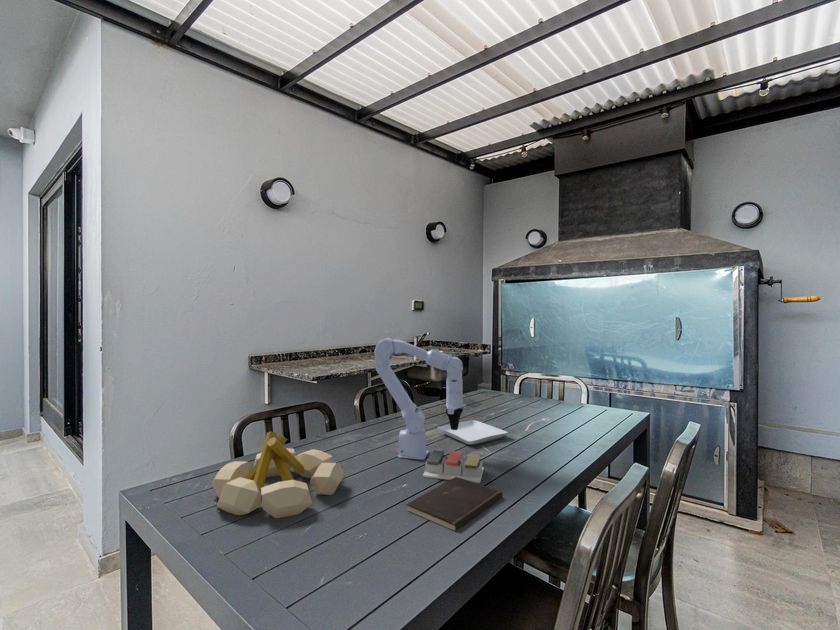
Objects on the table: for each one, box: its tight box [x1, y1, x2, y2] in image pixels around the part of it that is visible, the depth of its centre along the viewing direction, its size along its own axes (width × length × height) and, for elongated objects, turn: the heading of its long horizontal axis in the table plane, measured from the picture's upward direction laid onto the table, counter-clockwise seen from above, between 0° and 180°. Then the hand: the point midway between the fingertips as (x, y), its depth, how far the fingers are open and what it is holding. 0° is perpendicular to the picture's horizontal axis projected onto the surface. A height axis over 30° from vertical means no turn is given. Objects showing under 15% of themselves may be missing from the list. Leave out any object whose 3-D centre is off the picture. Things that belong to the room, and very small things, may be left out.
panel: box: [422, 457, 485, 484], centre depth 135 cm, size 18×11×3 cm, turn 76°
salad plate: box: [437, 419, 509, 446], centre depth 172 cm, size 21×21×3 cm
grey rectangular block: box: [426, 450, 445, 465], centre depth 136 cm, size 4×10×4 cm, turn 166°
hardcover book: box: [405, 477, 503, 533], centre depth 114 cm, size 16×23×2 cm
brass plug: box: [465, 453, 481, 469], centre depth 133 cm, size 4×10×4 cm, turn 165°
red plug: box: [446, 450, 463, 466], centre depth 135 cm, size 4×10×4 cm, turn 165°
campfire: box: [211, 431, 345, 519], centre depth 121 cm, size 35×34×17 cm
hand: (454, 429), depth 149 cm, fingers closed
